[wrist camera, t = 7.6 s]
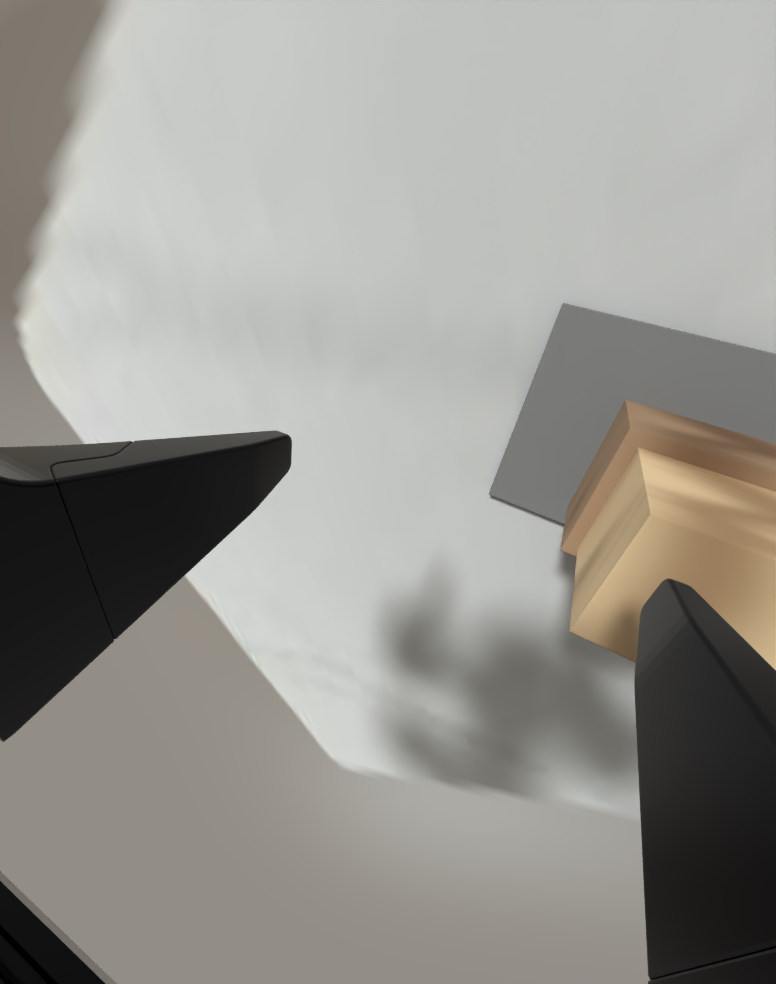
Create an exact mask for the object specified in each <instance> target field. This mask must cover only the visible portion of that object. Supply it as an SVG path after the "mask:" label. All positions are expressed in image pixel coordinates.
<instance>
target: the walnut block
mask: <svg viewBox="0 0 776 984" xmlns="http://www.w3.org/2000/svg"><path fill="white" fill-rule="evenodd" d="M638 447H639V448H642V449H645V450H648V451H651V452H654V453H657V454H660V455H663V456H666V457H670V458H673V459H676V460H679V461H682V462H685V463H688V464H691V465H694V466H697V467H700V468H704V469H707V470H710V471H713V472H716V473H719V474H722V475H725V476H728V477H731V478H735V479H738V480H741V481H744V482H747V483H750V484H753V485H756V486H759V487H762V488H765V489H769V490H772V491H775V492H776V444H775V443H771V442H768V441H765V440H761V439H758V438H754V437H751V436H748V435H744V434H741V433H737V432H734V431H731V430H727V429H724V428H721V427H717V426H714V425H710V424H707V423H704V422H700V421H697V420H693V419H690V418H687V417H683V416H680V415H676V414H673V413H670V412H666V411H663V410H659V409H656V408H653V407H649V406H646V405H642V404H639V403H636V402H632V401H629V400H625V402H624V403H623V405H622V407H621V409H620V411H619V413H618V415H617V416H616V418H615V420H614V422H613V424H612V426H611V428H610V429H609V431H608V433H607V435H606V437H605V439H604V441H603V442H602V444H601V446H600V448H599V450H598V452H597V454H596V455H595V457H594V459H593V461H592V463H591V465H590V466H589V468H588V470H587V472H586V474H585V476H584V478H583V479H582V481H581V483H580V485H579V487H578V489H577V491H576V492H575V494H574V496H573V498H572V500H571V502H570V504H569V505H568V507H567V513H566V519H565V526H564V532H563V538H562V544H561V550H562V551H564V552H566V553H569V554H571V555H574V556H576V557H577V548H578V547H579V545H580V543H581V542H582V540H583V538H584V537H585V535H586V533H587V532H588V530H589V528H590V527H591V525H592V523H593V522H594V520H595V518H596V517H597V515H598V513H599V512H600V510H601V508H602V507H603V505H604V503H605V502H606V500H607V498H608V497H609V495H610V493H611V492H612V490H613V488H614V487H615V485H616V483H617V482H618V480H619V478H620V477H621V475H622V473H623V472H624V470H625V468H626V466H627V465H628V463H629V461H630V460H631V458H632V456H633V455H634V453H635V451H636V450H637V448H638Z"/></svg>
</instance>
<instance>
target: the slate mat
mask: <svg viewBox="0 0 776 984" xmlns="http://www.w3.org/2000/svg"><path fill="white" fill-rule="evenodd" d="M625 400H629V401H632V402H636V403H639V404H642V405H646V406H649V407H653V408H656V409H659V410H663V411H666V412H670V413H673V414H676V415H680V416H683V417H687V418H690V419H693V420H697V421H700V422H704V423H707V424H710V425H714V426H717V427H721V428H724V429H727V430H731V431H734V432H737V433H741V434H744V435H748V436H751V437H754V438H758V439H761V440H765V441H768V442H771V443H775V444H776V354H774V353H769V352H765V351H761V350H757V349H753V348H749V347H744V346H740V345H736V344H732V343H728V342H723V341H719V340H715V339H711V338H707V337H703V336H698V335H694V334H690V333H686V332H682V331H678V330H673V329H669V328H665V327H661V326H657V325H653V324H648V323H644V322H640V321H636V320H632V319H627V318H623V317H619V316H615V315H611V314H607V313H602V312H598V311H594V310H590V309H586V308H582V307H577V306H573V305H569V304H565V303H563V304H562V307H561V309H560V312H559V314H558V317H557V319H556V322H555V325H554V327H553V330H552V332H551V335H550V337H549V340H548V343H547V345H546V348H545V350H544V353H543V355H542V358H541V361H540V363H539V366H538V368H537V371H536V373H535V376H534V379H533V381H532V384H531V386H530V389H529V392H528V394H527V397H526V399H525V402H524V404H523V407H522V410H521V412H520V415H519V417H518V420H517V422H516V425H515V428H514V430H513V433H512V435H511V438H510V440H509V443H508V446H507V448H506V451H505V453H504V456H503V458H502V461H501V464H500V466H499V469H498V471H497V474H496V476H495V479H494V482H493V484H492V487H491V489H490V492H489V495H492V496H495V497H497V498H500V499H502V500H505V501H507V502H510V503H512V504H515V505H517V506H520V507H522V508H525V509H527V510H530V511H532V512H535V513H537V514H540V515H543V516H545V517H548V518H550V519H553V520H555V521H558V522H560V523H563V524H565V519H566V513H567V507H568V505H569V504H570V502H571V500H572V498H573V496H574V494H575V492H576V491H577V489H578V487H579V485H580V483H581V481H582V479H583V478H584V476H585V474H586V472H587V470H588V468H589V466H590V465H591V463H592V461H593V459H594V457H595V455H596V454H597V452H598V450H599V448H600V446H601V444H602V442H603V441H604V439H605V437H606V435H607V433H608V431H609V429H610V428H611V426H612V424H613V422H614V420H615V418H616V416H617V415H618V413H619V411H620V409H621V407H622V405H623V403H624V402H625Z"/></svg>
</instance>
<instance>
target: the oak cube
mask: <svg viewBox="0 0 776 984" xmlns="http://www.w3.org/2000/svg"><path fill="white" fill-rule="evenodd" d="M669 578H670V579H674V580H676V581H679V582H682V583H684V584H687V585H689V586H691V587H692V588H693V589H694V590H695V591H696V592H697V593H698V594H699V595H700V596H701V597H702V598H703V599H704V600H705V601H706V602H707V603H708V604H709V605H710V606H711V607H712V608H713V609H714V610H715V611H716V612H717V613H718V614H719V615H720V616H721V617H722V618H723V619H724V620H725V621H726V622H728V623H729V624H730V625H731V626H732V627H733V628H734V629H735V630H736V631H737V632H738V633H739V634H740V635H741V636H742V637H743V638H744V639H745V640H746V641H747V642H748V643H749V644H750V645H751V646H752V647H753V648H754V649H755V650H756V651H757V652H758V653H759V654H760V655H761V656H762V657H763V658H764V659H765V660H766V661H767V662H768V663H769V664H770V665H771V666H772V667H773V668H774V669H775V670H776V492H775V491H772V490H769V489H765V488H762V487H759V486H756V485H753V484H750V483H747V482H744V481H741V480H738V479H735V478H731V477H728V476H725V475H722V474H719V473H716V472H713V471H710V470H707V469H704V468H700V467H697V466H694V465H691V464H688V463H685V462H682V461H679V460H676V459H673V458H670V457H666V456H663V455H660V454H657V453H654V452H651V451H648V450H645V449H642V448H639V447H638V448H637V450H636V451H635V453H634V455H633V456H632V458H631V460H630V461H629V463H628V465H627V466H626V468H625V470H624V472H623V473H622V475H621V477H620V478H619V480H618V482H617V483H616V485H615V487H614V488H613V490H612V492H611V493H610V495H609V497H608V498H607V500H606V502H605V503H604V505H603V507H602V508H601V510H600V512H599V513H598V515H597V517H596V518H595V520H594V522H593V523H592V525H591V527H590V528H589V530H588V532H587V533H586V535H585V537H584V538H583V540H582V542H581V543H580V545H579V547H578V548H577V559H576V569H575V579H574V589H573V599H572V609H571V619H570V629H569V631H570V632H572V633H574V634H576V635H578V636H580V637H582V638H585V639H587V640H589V641H591V642H593V643H595V644H597V645H600V646H602V647H604V648H606V649H608V650H610V651H612V652H614V653H617V654H619V655H621V656H623V657H625V658H627V659H629V660H632V661H634V662H636V654H637V643H638V632H639V621H640V613H641V610H642V607H643V605H644V604H645V603H646V601H647V600H648V599H649V597H650V596H651V595H652V594H653V592H654V591H655V590H656V588H657V587H658V586H659V585H660V583H661V582H662V581H664V580H665V579H669Z"/></svg>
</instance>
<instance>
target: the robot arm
mask: <svg viewBox="0 0 776 984" xmlns="http://www.w3.org/2000/svg"><path fill="white" fill-rule="evenodd" d="M291 450H292V440H291V437H290V436H289V435H287V434H285V433H282V432H279V431H263V432H249V433H236V434H222V435H209V436H195V437H181V438H168V439H154V440H141V441H134V442H131V441H127V442H113V443H97V444H80V445H55V446H26V447H0V740H1V741H2V742H4V741H6V740H7V739H8V738H9V737H11V736H12V735H13V734H14V733H16V732H17V731H18V730H19V729H20V728H21V727H22V726H23V725H24V724H25V723H26V722H27V721H28V720H30V719H31V718H32V717H33V716H34V715H35V714H36V713H37V712H38V711H39V710H40V709H42V708H43V707H44V706H45V705H46V704H47V703H48V702H49V701H50V700H51V699H52V698H53V697H54V696H56V694H57V693H59V691H61V690H62V689H63V688H64V687H65V686H66V685H67V684H68V683H70V682H71V681H72V680H73V679H74V678H75V677H76V676H77V675H78V674H79V673H80V672H81V671H82V670H83V669H85V668H86V667H87V666H88V665H89V664H90V663H91V662H92V661H93V660H94V659H95V658H96V657H97V656H99V654H101V653H102V652H103V651H104V650H105V649H106V648H107V647H108V646H109V645H110V644H111V643H113V641H114V639H116V638H118V636H120V635H121V634H122V633H123V632H124V631H125V630H126V629H127V628H128V627H129V626H131V625H132V624H133V623H134V622H135V621H136V620H137V619H138V618H139V617H140V616H141V615H142V614H143V613H145V612H146V611H147V610H148V609H149V608H150V607H151V606H152V605H153V604H154V603H155V602H156V601H157V600H159V599H160V598H161V597H162V596H163V595H164V594H165V593H166V592H167V591H168V590H169V589H170V588H171V587H173V585H175V584H176V583H177V582H178V581H179V580H180V579H181V578H182V577H183V576H184V575H185V574H187V573H188V572H189V571H190V570H191V569H192V568H193V567H194V566H195V565H196V564H197V563H198V562H199V561H201V560H202V559H203V558H204V557H205V556H206V555H207V554H208V553H209V552H210V551H211V550H212V549H213V548H215V547H216V546H217V545H218V544H219V543H220V542H221V541H222V540H223V539H224V538H225V537H226V536H227V535H229V534H230V533H231V532H232V531H233V530H234V529H235V528H236V527H237V526H238V525H239V524H240V523H241V522H243V521H244V520H245V519H246V518H247V517H248V516H249V515H250V514H251V513H252V512H253V511H254V510H255V509H256V508H257V507H258V506H259V505H260V504H261V502H262V501H263V500H264V499H265V498H266V497H267V496H268V494H269V493H270V492H271V491H272V490H273V489H274V487H275V486H276V485H277V484H278V483H279V482H280V481H281V479H282V478H283V477H284V476H285V475H286V474H287V472H288V471H289V469H290V466H291ZM635 708H636V729H637V750H638V771H639V792H640V813H641V834H642V855H643V877H644V897H645V917H646V918H645V919H646V940H647V961H648V976H649V978H650V979H651V980H650V981H649V982H648V984H776V670H775V669H774V668H773V667H772V666H771V665H770V664H769V663H768V662H767V661H766V660H765V659H764V658H763V657H762V656H761V655H760V654H759V653H758V652H757V651H756V650H755V649H754V648H753V647H752V646H751V645H750V644H749V643H748V642H747V641H746V640H745V639H744V638H743V637H742V636H741V635H740V634H739V633H738V632H737V631H736V630H735V629H734V628H733V627H732V626H731V625H730V624H729V623H728V622H726V621H725V620H724V619H723V618H722V617H721V616H720V615H719V614H718V613H717V612H716V611H715V610H714V609H713V608H712V607H711V606H710V605H709V604H708V603H707V602H706V601H705V600H704V599H703V598H702V597H701V596H700V595H699V594H698V593H697V592H696V591H695V590H694V589H693V588H692V587H691V586H689V585H687V584H684V583H682V582H679V581H676V580H674V579H670V578H669V579H665V580H664V581H662V582H661V583H660V585H659V586H658V587H657V588H656V590H655V591H654V592H653V594H652V595H651V596H650V597H649V599H648V600H647V601H646V603H645V604H644V605H643V607H642V610H641V613H640V621H639V632H638V643H637V654H636V665H635ZM0 984H117V983H115V982H114V981H113V980H112V979H111V978H110V977H109V976H108V975H107V974H106V973H105V972H104V971H103V970H102V969H101V968H100V967H99V966H98V965H97V964H96V963H95V962H94V961H93V960H92V959H91V958H90V957H88V955H86V954H85V953H84V952H83V951H82V950H81V949H80V948H79V947H78V946H77V945H76V944H75V943H74V942H73V941H72V940H71V939H70V938H69V937H68V936H67V935H66V934H65V933H64V932H63V931H62V930H61V929H60V928H58V927H57V926H56V925H55V924H54V923H53V922H52V921H51V920H50V919H49V918H48V917H47V916H46V915H45V914H44V913H43V912H42V911H41V910H40V909H39V908H38V907H37V906H36V905H35V904H34V903H33V902H31V900H29V899H28V898H27V897H26V896H25V895H24V894H23V893H22V892H21V891H20V890H19V889H18V888H17V887H16V886H15V885H14V884H13V883H12V882H11V881H10V880H9V879H8V878H7V877H5V875H4V874H2V873H1V872H0Z"/></svg>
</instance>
